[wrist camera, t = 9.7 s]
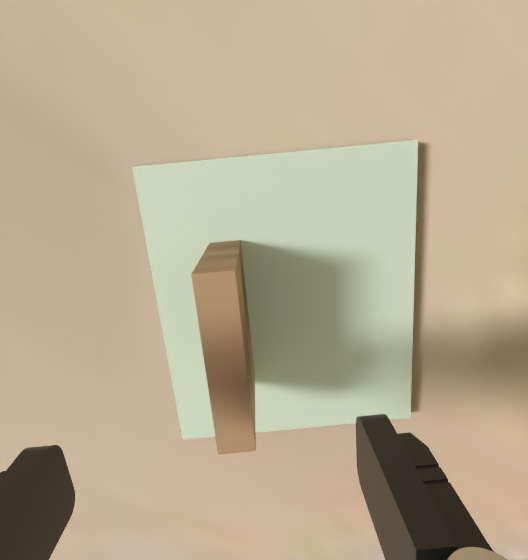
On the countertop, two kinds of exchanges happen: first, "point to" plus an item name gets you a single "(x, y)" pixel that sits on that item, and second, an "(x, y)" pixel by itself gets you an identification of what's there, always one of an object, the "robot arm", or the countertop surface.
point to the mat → (293, 277)
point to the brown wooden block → (226, 344)
